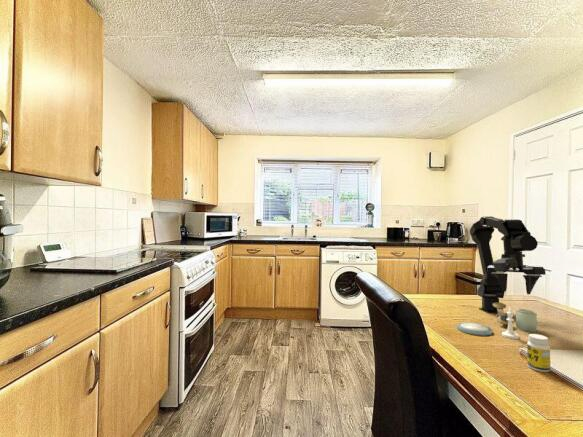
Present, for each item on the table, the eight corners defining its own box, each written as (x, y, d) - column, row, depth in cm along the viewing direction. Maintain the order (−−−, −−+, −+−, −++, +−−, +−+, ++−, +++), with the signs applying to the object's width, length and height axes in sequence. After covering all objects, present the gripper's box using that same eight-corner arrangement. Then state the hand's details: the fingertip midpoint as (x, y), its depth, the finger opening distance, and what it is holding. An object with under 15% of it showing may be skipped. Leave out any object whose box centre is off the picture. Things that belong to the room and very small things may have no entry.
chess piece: (516, 334, 106) (515, 305, 106) (521, 339, 101) (521, 309, 101) (499, 333, 107) (499, 304, 108) (504, 338, 103) (503, 308, 103)
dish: (450, 325, 115) (450, 322, 115) (477, 324, 116) (477, 321, 116) (471, 336, 104) (471, 332, 104) (500, 335, 105) (500, 331, 106)
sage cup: (512, 326, 114) (511, 308, 114) (526, 325, 115) (526, 308, 115) (526, 332, 108) (525, 313, 109) (541, 331, 109) (541, 312, 109)
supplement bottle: (522, 364, 83) (522, 333, 83) (538, 363, 84) (538, 332, 84) (538, 373, 78) (537, 340, 79) (555, 372, 79) (554, 339, 79)
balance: (492, 314, 129) (492, 301, 129) (505, 316, 127) (505, 303, 127) (497, 326, 114) (497, 311, 114) (512, 328, 112) (512, 313, 112)
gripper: (475, 251, 125) (478, 290, 123) (521, 250, 107) (525, 296, 105) (496, 252, 128) (499, 290, 126) (544, 251, 110) (548, 295, 108)
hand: (516, 292), depth 116 cm, fingers open, 9 cm apart
